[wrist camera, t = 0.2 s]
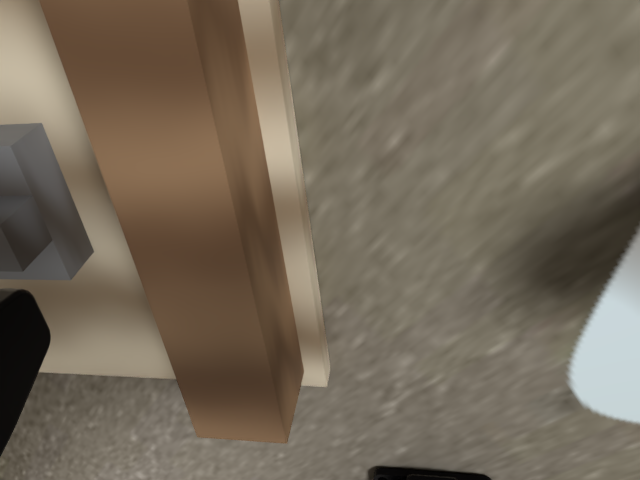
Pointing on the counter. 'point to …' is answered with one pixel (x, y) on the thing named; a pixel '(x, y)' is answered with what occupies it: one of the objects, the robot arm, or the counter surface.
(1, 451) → the robot arm
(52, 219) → the flat beige square board
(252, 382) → the walnut bar
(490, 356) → the counter surface
